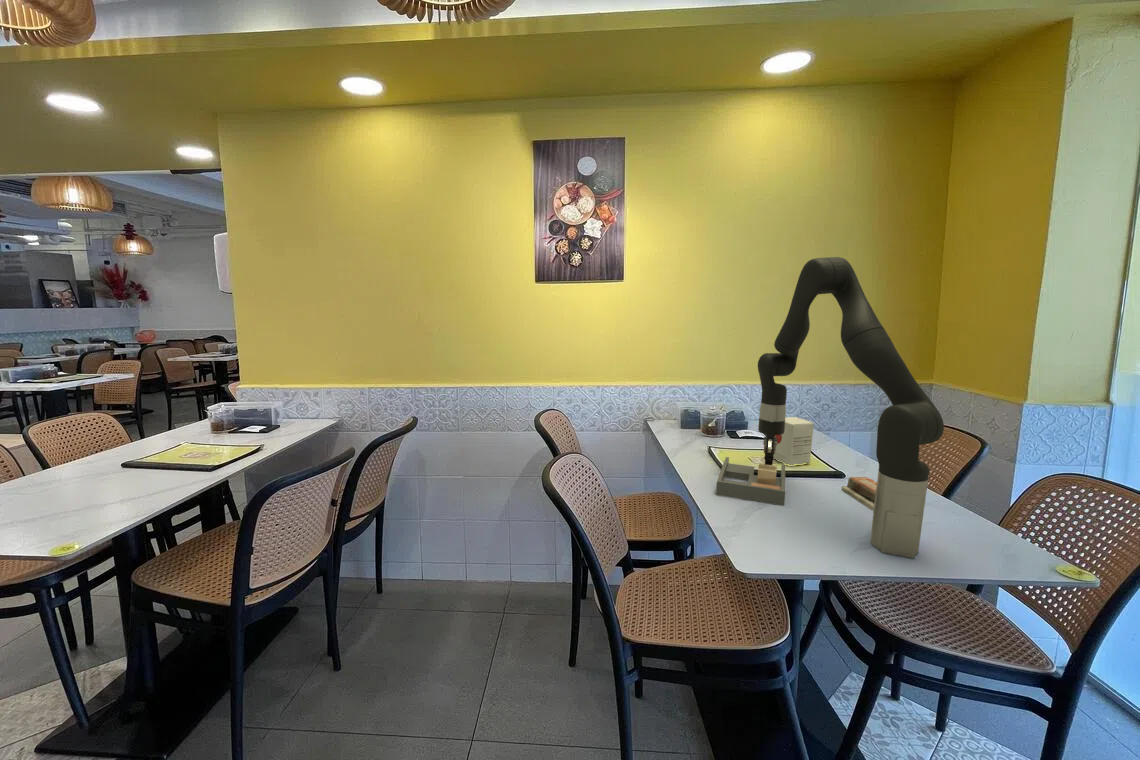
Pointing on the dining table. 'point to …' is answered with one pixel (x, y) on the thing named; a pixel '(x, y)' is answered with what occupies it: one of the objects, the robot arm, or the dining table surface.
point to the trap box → (749, 484)
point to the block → (767, 474)
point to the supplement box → (795, 442)
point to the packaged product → (862, 490)
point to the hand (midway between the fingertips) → (768, 471)
